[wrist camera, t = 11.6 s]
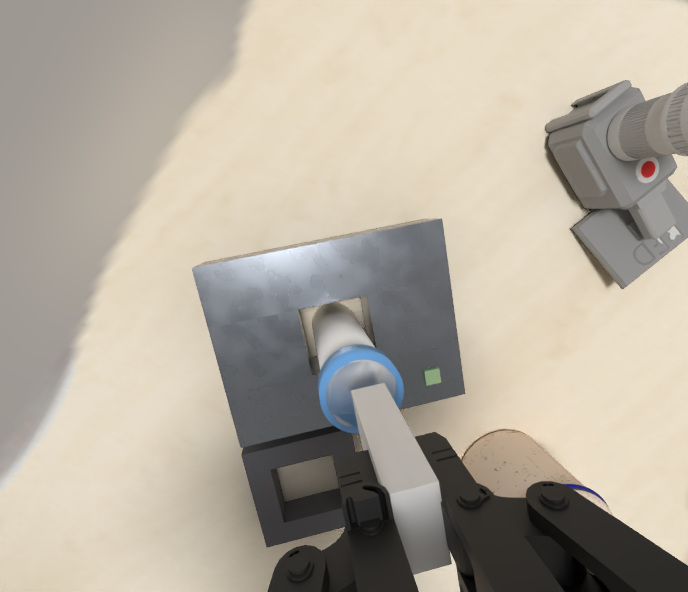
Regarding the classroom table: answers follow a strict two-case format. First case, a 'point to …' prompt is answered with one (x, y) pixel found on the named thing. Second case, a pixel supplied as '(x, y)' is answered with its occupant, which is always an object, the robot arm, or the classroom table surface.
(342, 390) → the plug
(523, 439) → the teacup with lid
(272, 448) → the frame
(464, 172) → the classroom table surface
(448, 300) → the port panel
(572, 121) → the camera
